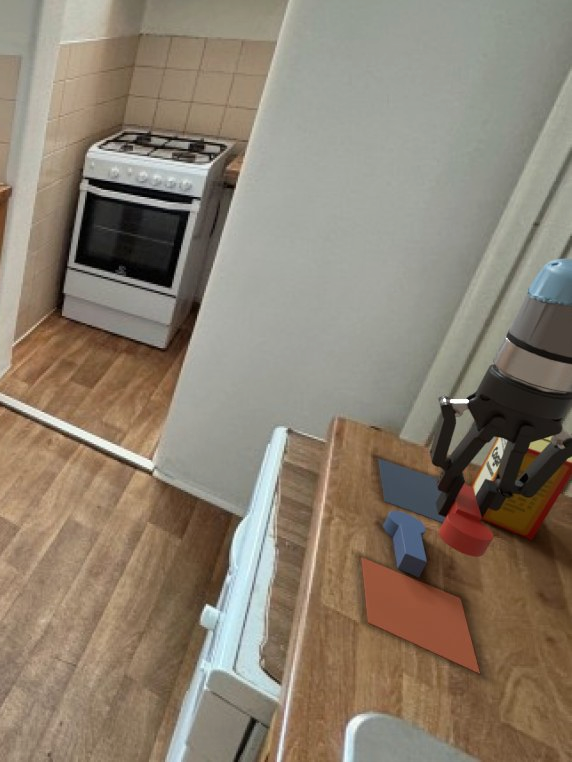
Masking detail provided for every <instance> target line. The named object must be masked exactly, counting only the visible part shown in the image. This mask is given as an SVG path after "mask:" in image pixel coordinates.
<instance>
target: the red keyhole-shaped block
mask: <svg viewBox="0 0 572 762" xmlns="http://www.w3.org/2000/svg"><path fill="white" fill-rule="evenodd" d="M444 519H445V521H444V523H442V524H441V526H440V528H439V530H438V536H439V538H440V539H441V540H442V541H443V542H444V543H445V544H446V545H447V546H449V547H450V548H452V549H454V550H455V551H457V552H459V553H461V554H464V555H467V556H470V557H476V558H480V557H482V556H484V555H485V553H486V551H487V550H488V548H489V547H490V545H491V543H492V542H493V540H494V538H495V536H494V534H493V532H492V530H491V529H490V528H489V527H488V526H486V525H485V524H484V523H482V520H481V519H482V517H481V513H480V510H479V507H478V504H477V500H476V497H475V493H474V489H473V487H471V485H468V484H465V483H464V485H463V487H462V488H461V490H460V492H459V494H458V496H457V497H456V499H455V501H454V502H453V504H452V506H451V508H450V510H449V511H448V513H447V515H446V517H444ZM480 520H481V522H480Z"/></svg>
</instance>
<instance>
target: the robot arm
mask: <svg viewBox="0 0 572 762" xmlns="http://www.w3.org/2000/svg"><path fill="white" fill-rule="evenodd" d="M516 313H517V314H516V315H515V317H514V320H513V322H512V324H511V326H510V328H509V329H508V331H507V333H506V335H505V337H504V339H503V340H502V342H501V344H500V346H499V347H498V349H497V352H496V353H495V355H494V357H493V358H492V362H493V363H492V364H490V365H489V366H488V368H487V370H486V372H485V374H484V376H483V377H482V379H481V381H480V383H479V384H478V387H477V389H476V390H475V392H474V393H472V394H470V395H468V396H467V397H466V398H465V399H451V398H450V397H449V396H446V395H441V396H439V397H438V398H437V399H438V403H439V407H440V415H439V418H438V422H437V425H436V429H435V432H434V436H433V439H432V444H431V446H430V450H429V455H430V461H431V464H432V465H433V466H434V467H438V468H440V469H441V471H440V473H439V475H438V476H437V481H436V482H437V487H438V490H439V491H442V492H441V494H440V496H439V498H438V500H437V501H436V506H437V511H438V515H441V516H444V517H446V515H447V513H448V511H449V510H450V508H451V506H452V504H453V502H454V501H455V499H456V497H457V496H458V494H459V492H460V490H461V488H462V487H463V485H464V484H465V483H466V480H465V479H466V478H465V477H464V473H463V472H464V471H465V469H467V467H468V466H469V464H471V462H472V461H473V460H474V459H475V458H476V456H477V455H478V454H479V453H480V451H481V450H482V449H483V448H484V447H485V445H487V444H489V443H490V442H491V441H492V440H493V439H494V438H497V437H499V438H504V439H506V440H507V443H506V446H505V449H504V452H503V455H502V458H501V461H500V464H499V467H498V470H497V474H496V477H495V482H493V481H491V480H488V479H485V480H484V482H483V484H482V486H481V487H480V489H479V491H478V493H477V494H476V496H475V497H476V500H477V504H478V507H479V510H480V513H481V517H482V518H483V517H484V515H485V513H486V511H487V510H488V508H489V509H492V510H494V511H497V510H499V509H500V508H501V506H502V505H503V503H504V501H505V500H506V498H511V497H513V494H521V495H522V496H524V497H527V498H531V497H533V496H534V495H535V494H536V493H537V492H538V491H539V490H540V489H541V487H542V486H543V485H544V484H545V483H546V482H547V481H548V480H549V479H550V478H551V477H552V476H553V474H554V473H555V472H556V471H557V470H558V469H559V468H560V467H561V466H562V465H563V464H564V462H565V461H566V460H567V459H568V458H570V457H572V433H570V432H568V431H566V430H565V429H564V428H563V424H562V420H563V419H564V417H565V416H566V414H567V412H568V411H569V409H570V408H571V406H572V258H558V259H557V258H556V259H553V260H551V261H549V262H547V263H545V265H543V267H542V268H541V269H540V271H538V274H537V275H536V277H535V278H534V280H533V281H532V283H531V285H530V286H529V287H528V288H527V290H526V295H525V297H524V299H523V301H522V303H521V305H520V307H519V309H518V311H517V312H516ZM467 410H468V411H469V413H470V414H471V416H472V418H473V420H474V422H473V423H472V424H471V428H470V429H469V431H468V432H467V433H466V434H465V436H464V437H463V438H462V439H461V441H460V442H459V443H458V444H457V446H456V447H455V448H454V450H453V451H452V452H451V453H450V454H449V455H448V453H449V450H450V446H451V443H452V440H453V436H454V433H455V429H456V426H457V418H460V417H462V416H463V414H464V411H467ZM551 436H553V437H552V438H551V441H552V442H551V443H549V444H548V445H547V446H546V448H545V449H544V450H543V451H542V452H541V453H540V454H539V455H538V457H537V458H536V459H535V460H534V461H533V462H532V463H531V464H530V466H529V467H528V468H527V469H526V470H525V471H524V472H523V473H522V475H521V476H520V477H519V478H518V479H517V476H518V473H519V470H520V467H521V464H522V461H523V458H524V455H525V454H526V453H527V452H528V449H529V446H530V443H531V442H534V441H537V440H541V439H544V438H547V437H551ZM447 456H448V457H447ZM516 479H517V480H516ZM482 521H483V520H482V519H481V520H480V522H481V523H482Z"/></svg>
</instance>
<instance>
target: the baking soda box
mask: <svg viewBox="0 0 572 762" xmlns="http://www.w3.org/2000/svg"><path fill="white" fill-rule="evenodd" d="M552 437H553V436H551V437H547V438H544V439H541V440H537V441H534V442H531V443H530V446H529V449H528V452H527V453H526V454H525V455H524V458H523V461H522V464H521V467H520V470H519V473H518V476H517V479H518V478H519V477H520V476H521V475H522V473H523V472H524V471H525V470H526V469H527V468H528V467H529V466H530V464H531V463H532V462H533V461H534V460H535V459H536V458H537V457H538V455H539V454H540V453H541V452H542V451H543V450H544V449H545V448H546V446H547V445H548V444H549V443H551V442H552V441H551V438H552ZM506 443H507V440H506V439H504V438H499V437H496V438H495V441H494V442H493V443H492V445H491V448H490V449H489V452H488V453H487V456H486V457H485V459H484V461H483V463H482V465H481V467H480V468H479V470H478V472H477V474H476V476H475V478H474V480H473V481H472V483H471V485H470V486H471V487H473V489H474V493H475V496H476V494H477V493H478V491H479V489H480V487H481V486H482V484H483V482H484V480H485V479H488V480H491V481H493V482H495V477H496V474H497V470H498V467H499V464H500V461H501V458H502V455H503V452H504V449H505V446H506ZM571 477H572V457H570V458H568V459H567V460H566V461H565V462H564V464H563V465H562V466H561V467H560V468H559V469H558V470H557V471H556V472H555V473H554V474H553V476H552V477H551V478H550V479H549V480H548V481H547V482H546V483H545V484H544V485H543V486H542V487H541V489H540V490H539V491H538V492H537V493H536V494H535V495H534V496H533V497H531V498H527V497H524V496H522V495H521V494H513V497H511V498H506V500H505V501H504V503H503V505H502V506H501V508H500V509H499V510H497V511H494V510H492V509H489V508H488V510H487V511H486V513H485V515H484V517H483V518H482V520H481V521H484V522H487V523H489V524H492V525H494V526H497V527H498V528H501V529H504V530H507V531H510V532H511V533H514V534H517V535H518V536H519V535H520V536H522V537H524V538H526V539H529V540H533V539H534V537H535V535H536V534H537V533H538V530H539V529H540V527H541V526H542V524H543V523H544V521H545V519H546V518H547V516H548V515H549V513H550V511H551V510H552V508H553V506H554V504H555V503H556V501H557V500H558V498H559V497H560V495H561V493H562V492H563V490H564V488H565V487H566V485H567V483H568V482H569V480H570V478H571ZM517 479H516V480H517Z"/></svg>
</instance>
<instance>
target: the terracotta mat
mask: <svg viewBox="0 0 572 762" xmlns="http://www.w3.org/2000/svg"><path fill="white" fill-rule="evenodd" d="M361 567H362V568H361V569H362V578H363V586H364V596H365V608H366V616H367V624H370V625H372V626H374V627H376V628H379V629H380V630H383V631H385V632H386V633H390V635H391V634H392V635H394V636H396V637H398V638H400V639H402V640H404V641H407V642H409V643H411V644H413V645H415V646H416V647H417V646H418V647H420V648H422V649H424V650H425V651H429V652H431V653H433V654H435V655H437V656H439V657H441V658H443V659H446V660H448V661H450V662H453V663H454V664H456V665H458V666H461V667H463V668H465V669H468V670H470V671H472V672H474V673H476V674H479V675H481V671H480V668H479V664H478V660H477V657H476V652H475V648H474V645H473V640H472V636H471V634H470V629H469V626H468V620H467V618H466V614H465V610H464V606H463V603H462V599H461V597H458V596H455V595H454V594H451V593H448V592H446V591H444V590H442V589H439V588H436V587H434V586H432V585H430V584H427V583H424V582H423V581H420V580H418V579H415V578H412V577H410V576H407V575H405V574H403V573H400V572H398V571H396V570H393V569H391V568H389V567H386V566H384V565H381V564H379V563H376V562H374V561H371V560H369V559H367V558H364V557H361Z"/></svg>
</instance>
